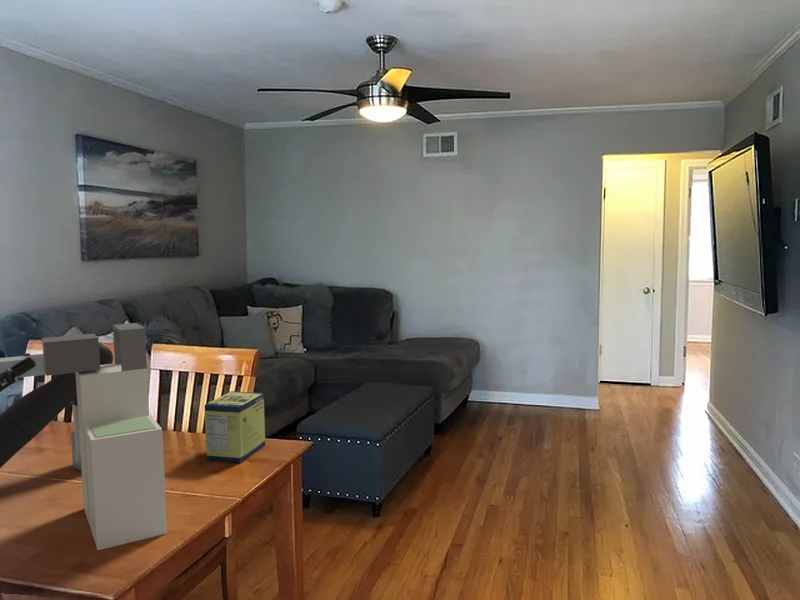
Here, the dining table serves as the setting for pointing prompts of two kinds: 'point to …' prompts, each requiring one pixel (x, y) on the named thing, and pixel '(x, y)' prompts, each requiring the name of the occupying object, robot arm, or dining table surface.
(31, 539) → the dining table surface
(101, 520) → the grey stepped fixture
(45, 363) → the plug
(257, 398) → the protein box
